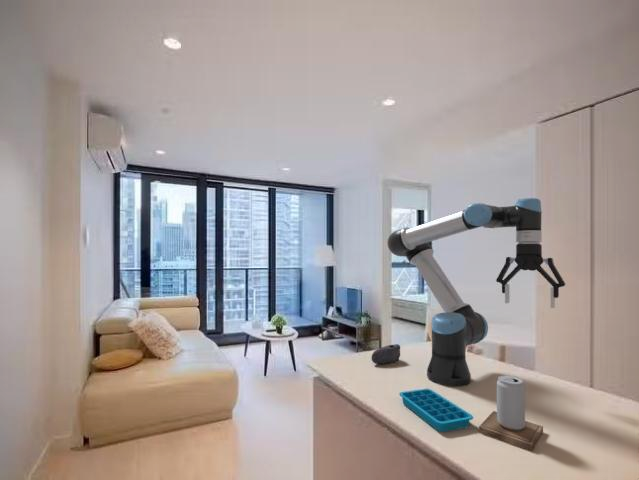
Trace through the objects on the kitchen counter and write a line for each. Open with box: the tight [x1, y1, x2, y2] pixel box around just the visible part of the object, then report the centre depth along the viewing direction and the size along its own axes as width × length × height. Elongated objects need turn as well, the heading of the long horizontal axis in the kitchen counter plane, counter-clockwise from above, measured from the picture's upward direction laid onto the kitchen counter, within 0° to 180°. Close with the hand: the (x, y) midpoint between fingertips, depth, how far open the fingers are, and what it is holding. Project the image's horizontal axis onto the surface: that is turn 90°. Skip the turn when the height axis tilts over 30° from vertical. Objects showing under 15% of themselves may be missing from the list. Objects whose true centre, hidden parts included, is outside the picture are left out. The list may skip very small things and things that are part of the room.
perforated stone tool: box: [371, 343, 401, 365], centre depth 143 cm, size 15×5×7 cm, turn 116°
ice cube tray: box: [398, 388, 474, 433], centre depth 99 cm, size 12×20×3 cm, turn 18°
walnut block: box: [478, 410, 544, 452], centre depth 89 cm, size 12×12×2 cm
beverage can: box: [496, 375, 526, 430], centre depth 89 cm, size 6×6×12 cm
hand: (529, 305), depth 117 cm, fingers open, 13 cm apart
